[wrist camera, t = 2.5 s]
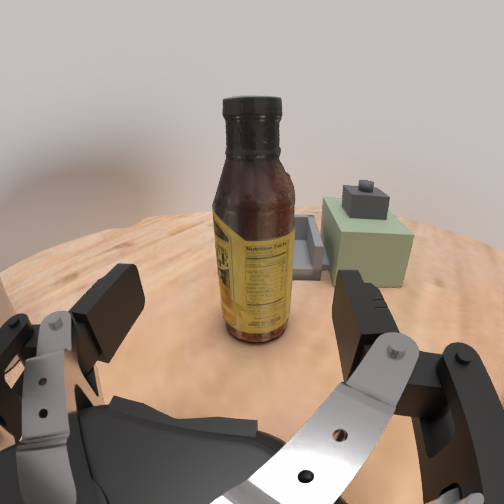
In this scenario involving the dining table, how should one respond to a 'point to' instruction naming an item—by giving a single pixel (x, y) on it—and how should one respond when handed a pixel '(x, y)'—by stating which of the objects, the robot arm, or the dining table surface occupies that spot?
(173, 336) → the dining table surface
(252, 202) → the sauce bottle
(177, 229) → the dining table surface
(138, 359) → the dining table surface
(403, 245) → the knobbed green block
